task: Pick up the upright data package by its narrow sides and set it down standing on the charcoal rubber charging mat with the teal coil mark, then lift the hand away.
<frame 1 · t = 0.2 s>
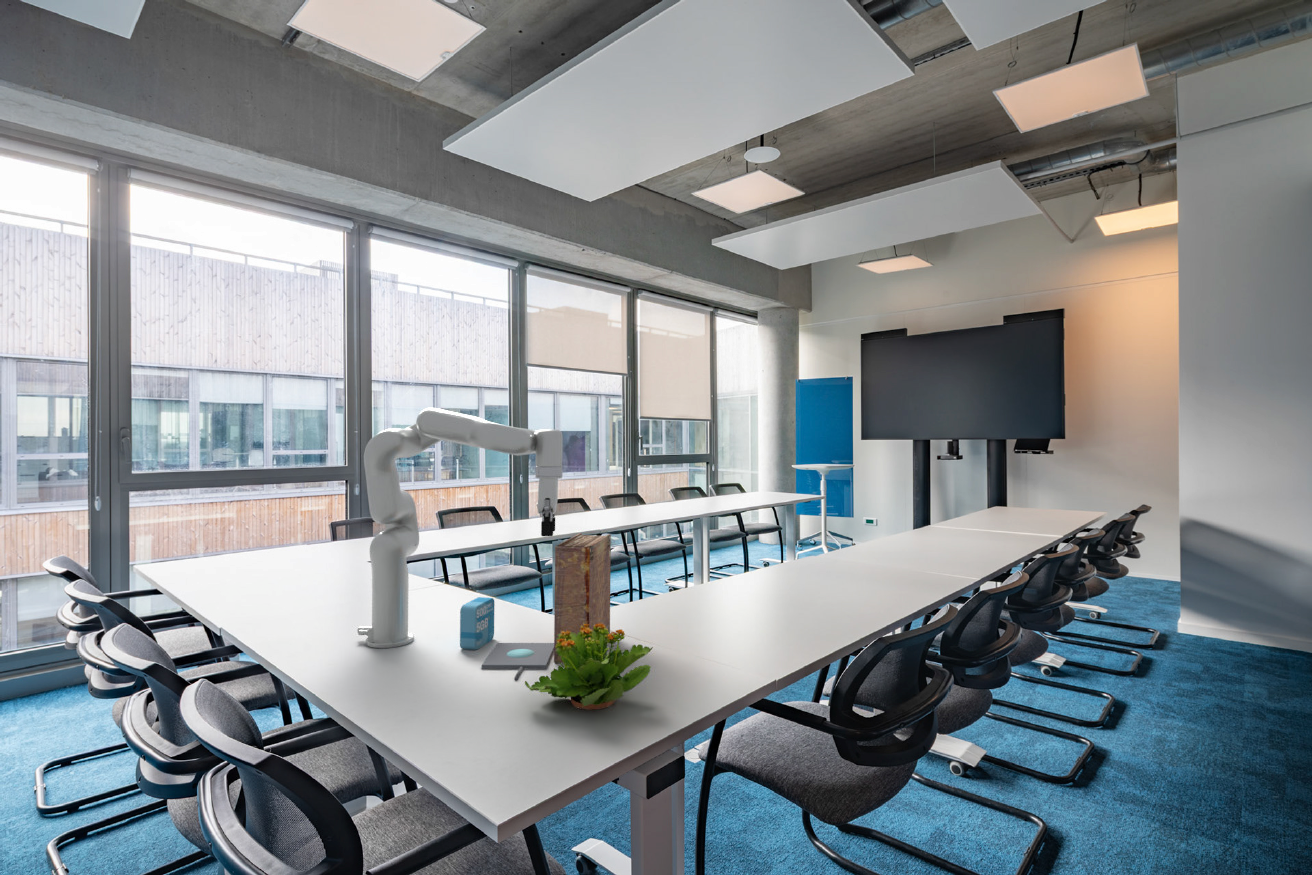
hand: (548, 533, 186), 31 cm above the table, tool pointing down, fingers open, 9 cm apart
potted flower: (596, 701, 144), on the table
book: (583, 649, 180), on the table
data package: (477, 644, 184), on the table
charging mat: (520, 657, 173), on the table
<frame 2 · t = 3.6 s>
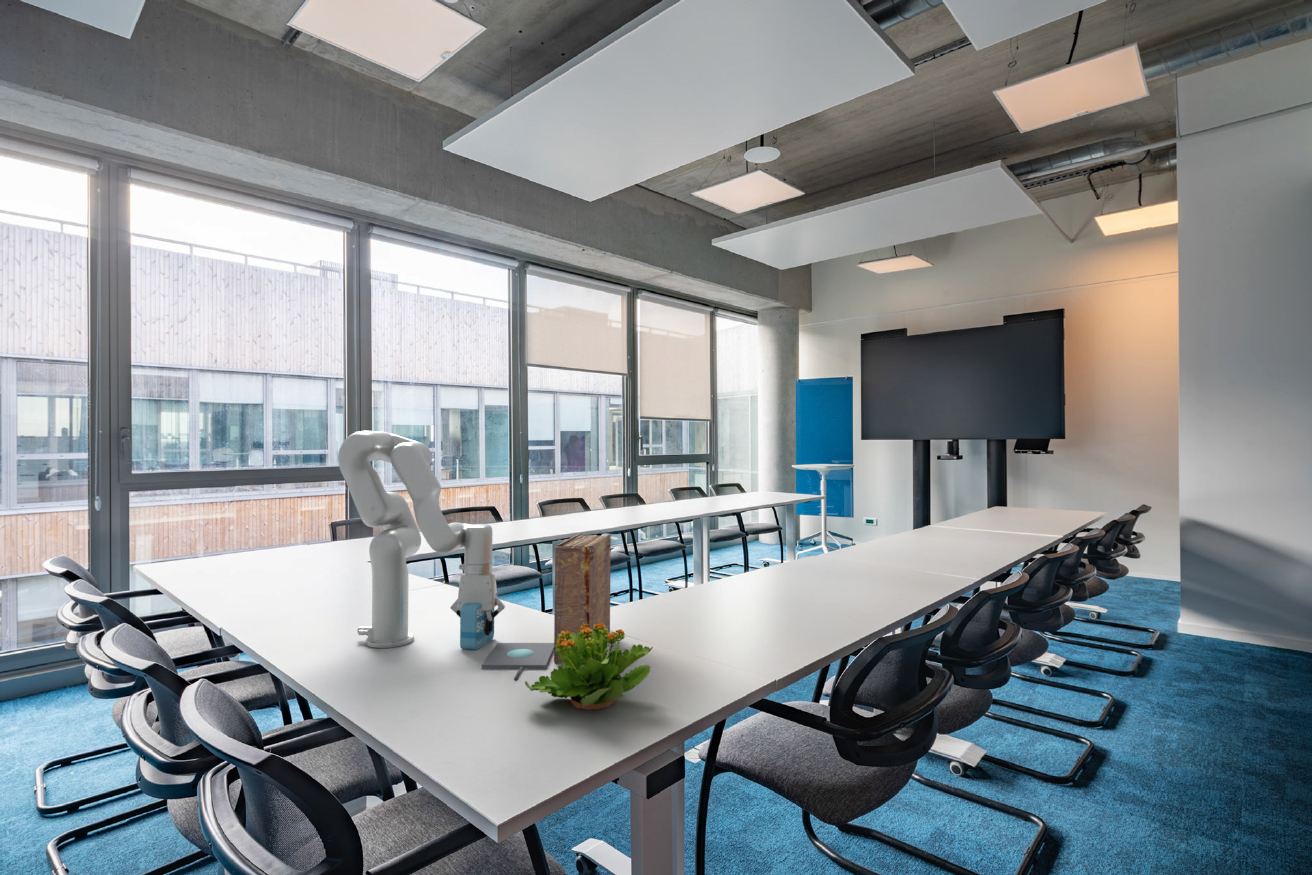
hand: (477, 633, 184), 3 cm above the table, tool pointing down, fingers closed on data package, 5 cm apart
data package: (477, 644, 184), on the table, touching gripper
everything else where it was.
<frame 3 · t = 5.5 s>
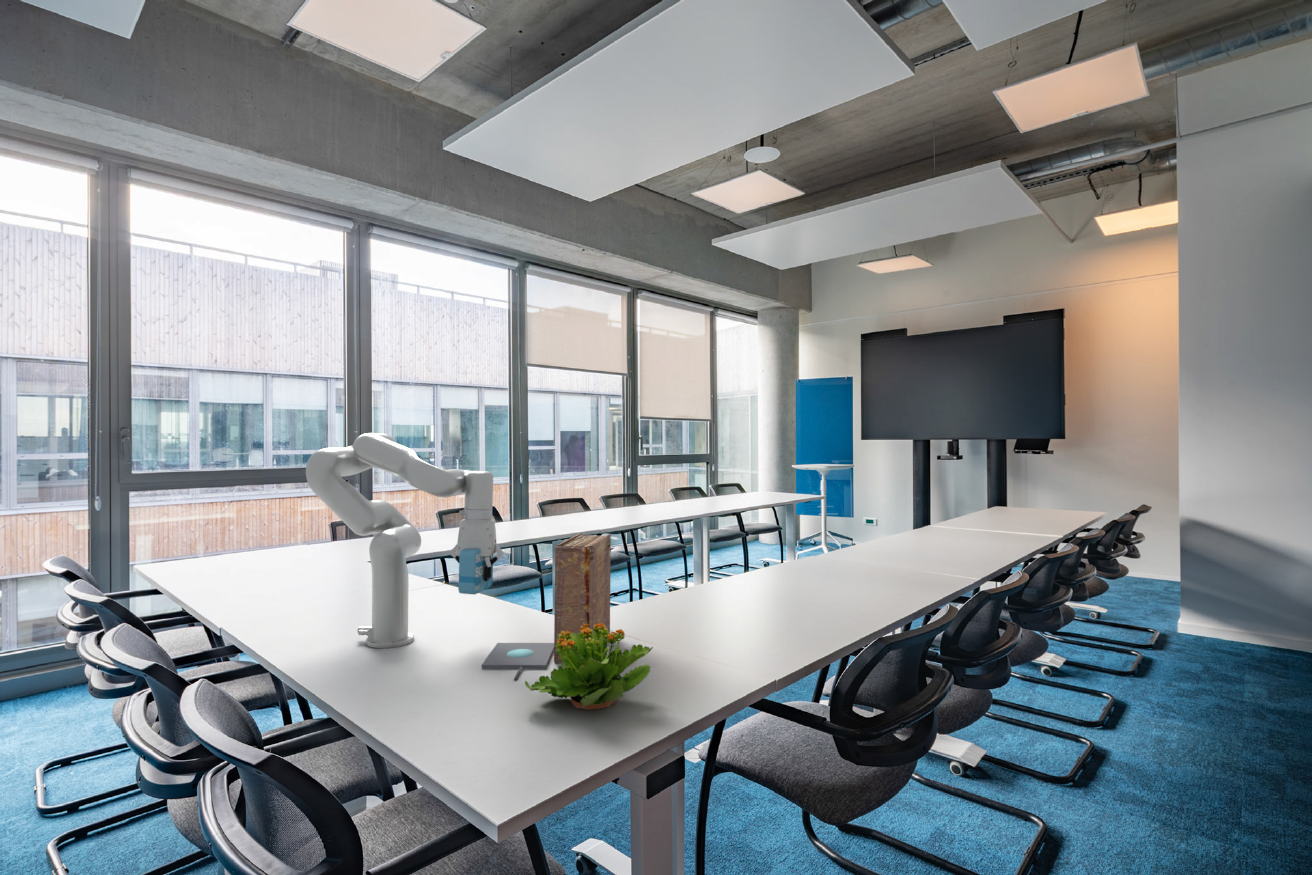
hand: (476, 579, 184), 18 cm above the table, tool pointing down, fingers closed on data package, 5 cm apart
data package: (475, 591, 184), point 15 cm above the table, touching gripper
everything else where it was.
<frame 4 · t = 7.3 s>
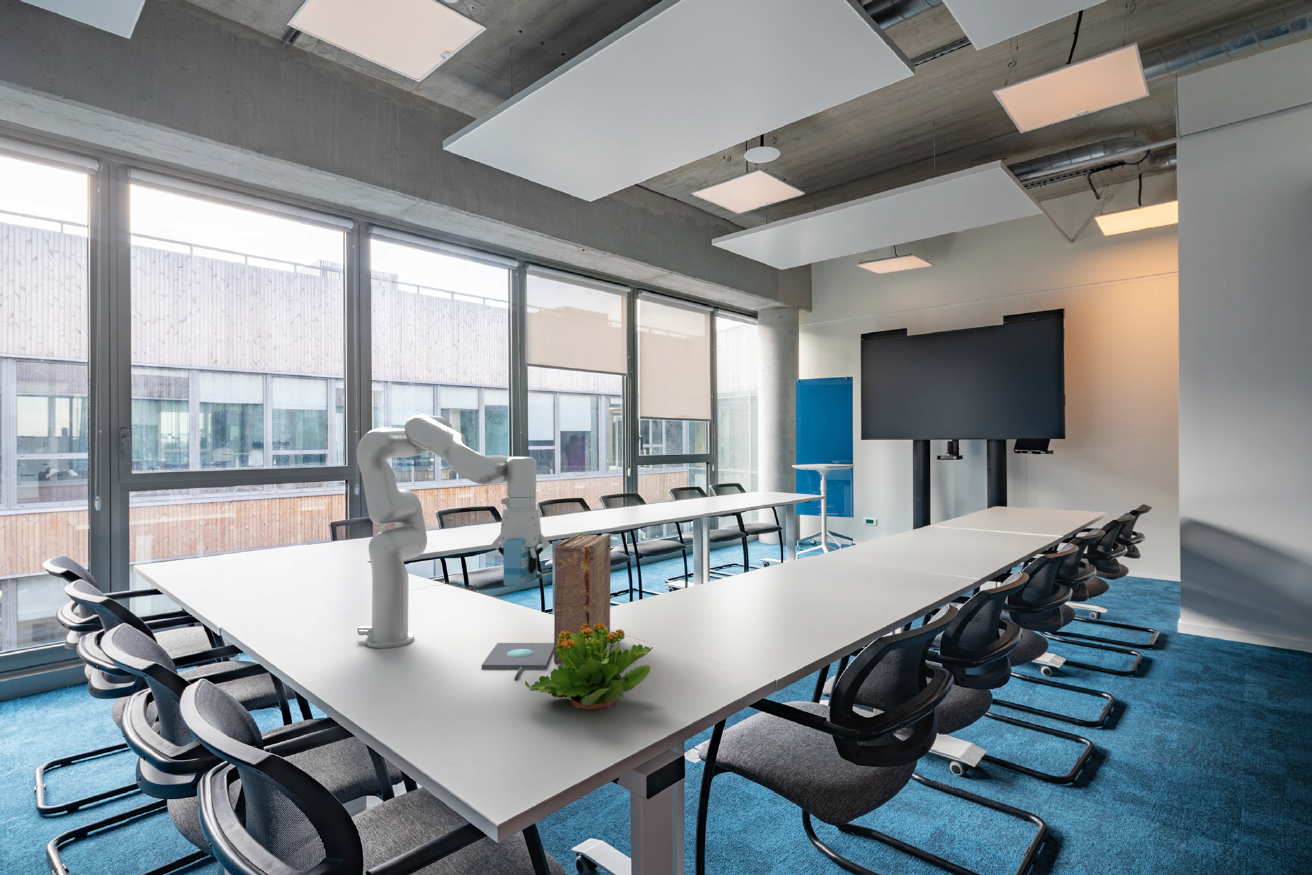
hand: (520, 571, 173), 22 cm above the table, tool pointing down, fingers closed on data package, 5 cm apart
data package: (520, 583, 173), point 19 cm above the table, touching gripper
everything else where it was.
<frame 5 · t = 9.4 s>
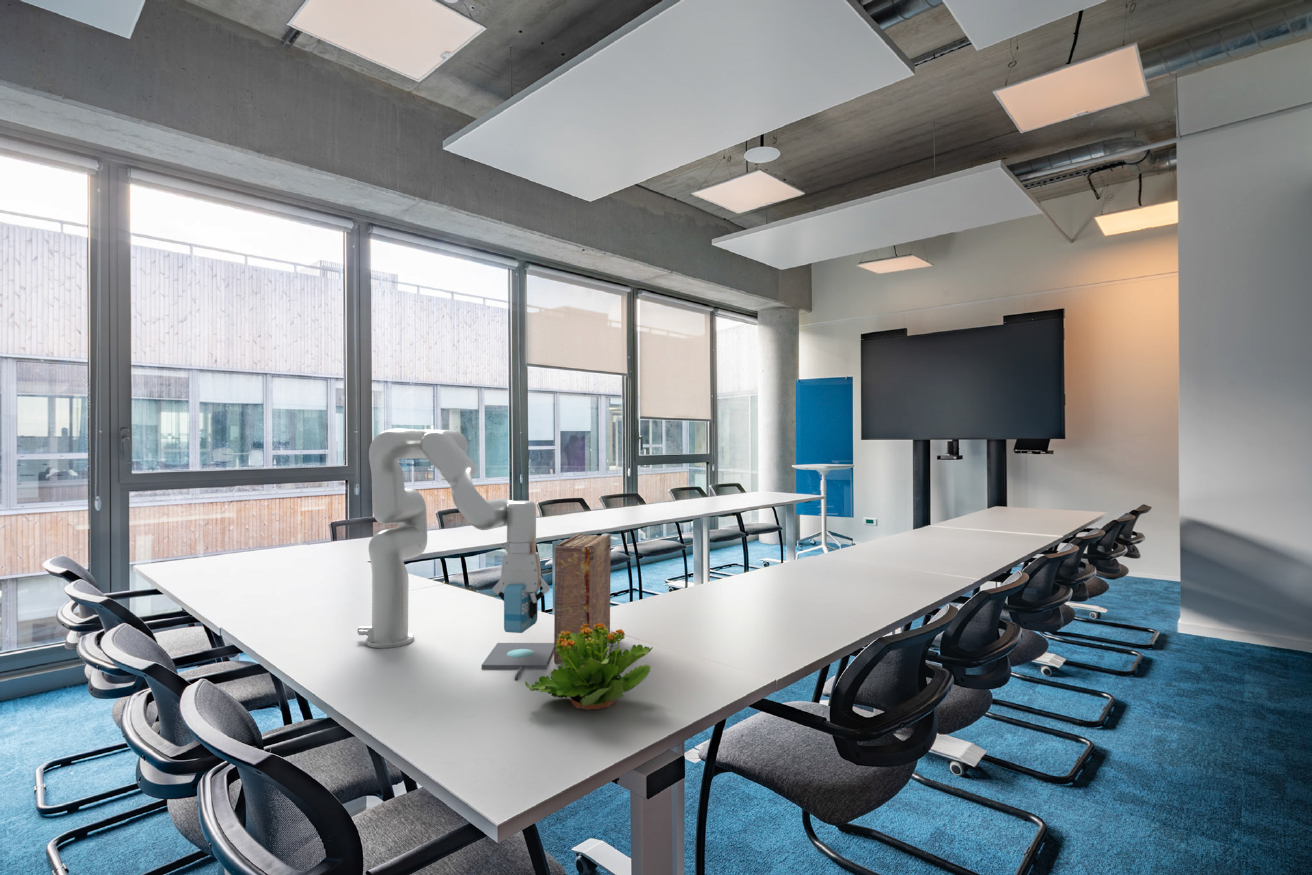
hand: (521, 616, 173), 11 cm above the table, tool pointing down, fingers closed on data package, 5 cm apart
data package: (521, 628, 173), point 8 cm above the table, touching gripper
everything else where it was.
when the fingers open (5 cm above the table, at t = 10.9 s): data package drops 1 cm, resting on charging mat.
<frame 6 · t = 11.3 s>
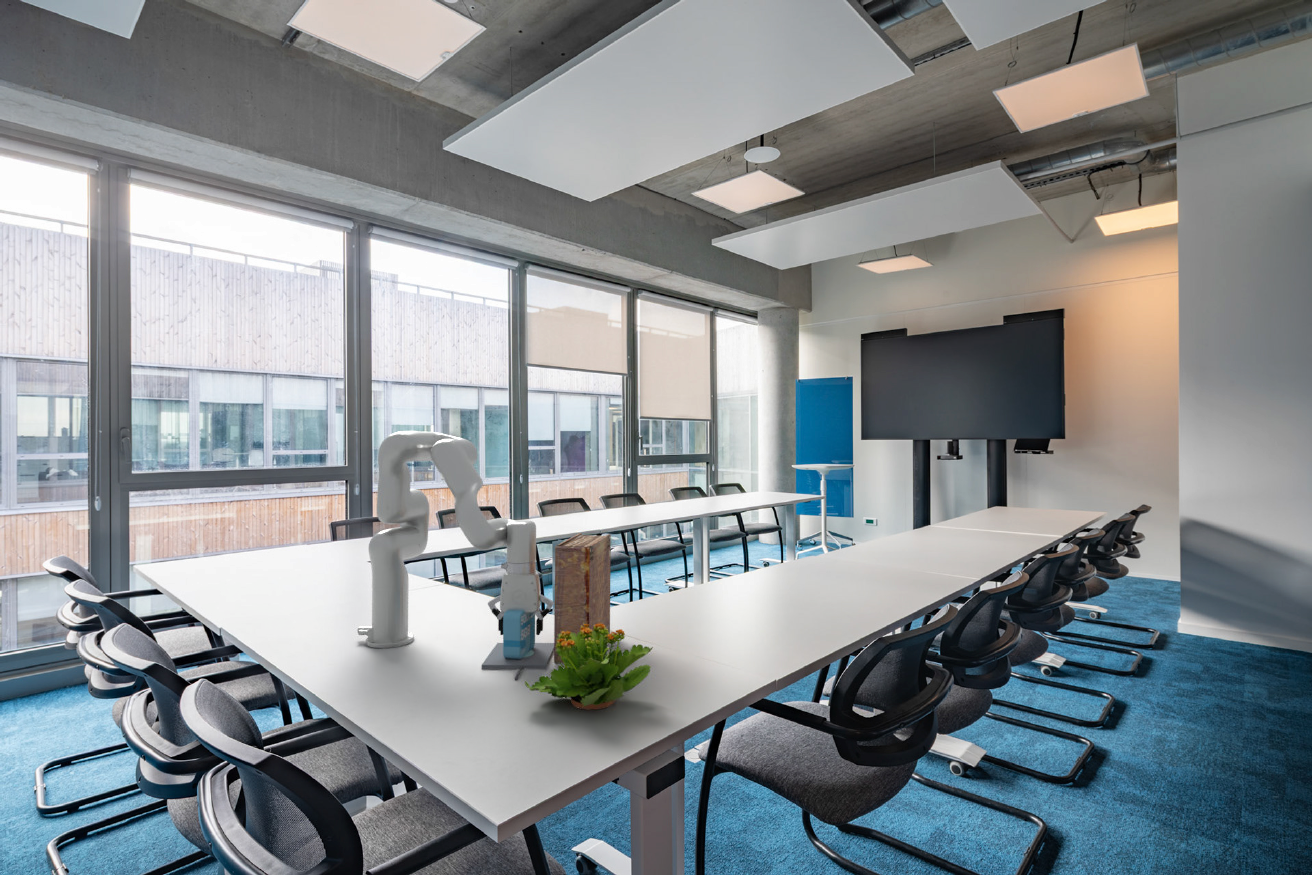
hand: (520, 633, 173), 6 cm above the table, tool pointing down, fingers open, 9 cm apart
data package: (519, 653, 173), point 1 cm above the table, touching charging mat
everything else where it was.
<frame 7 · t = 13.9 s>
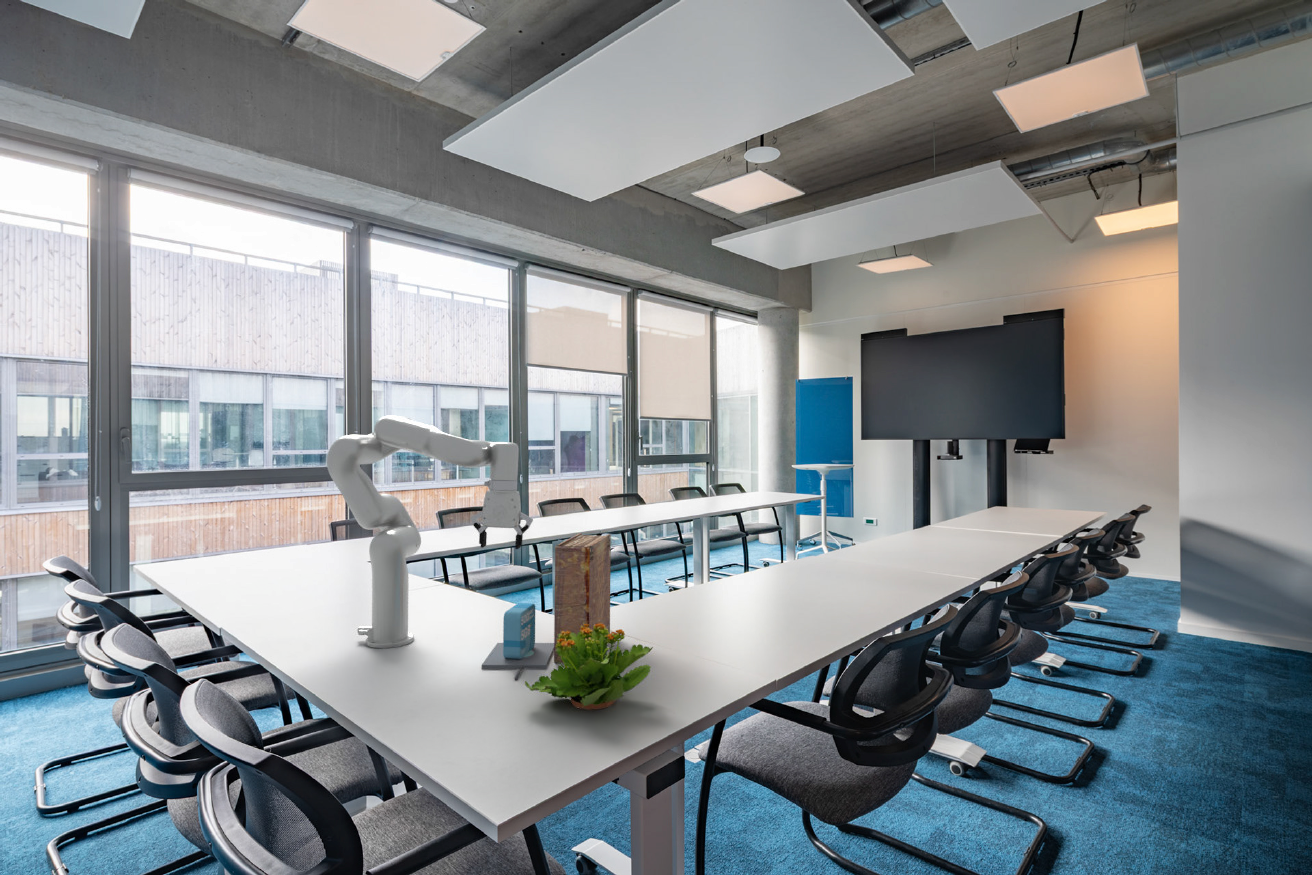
hand: (500, 547, 184), 27 cm above the table, tool pointing down, fingers open, 9 cm apart
nothing on the table moved.
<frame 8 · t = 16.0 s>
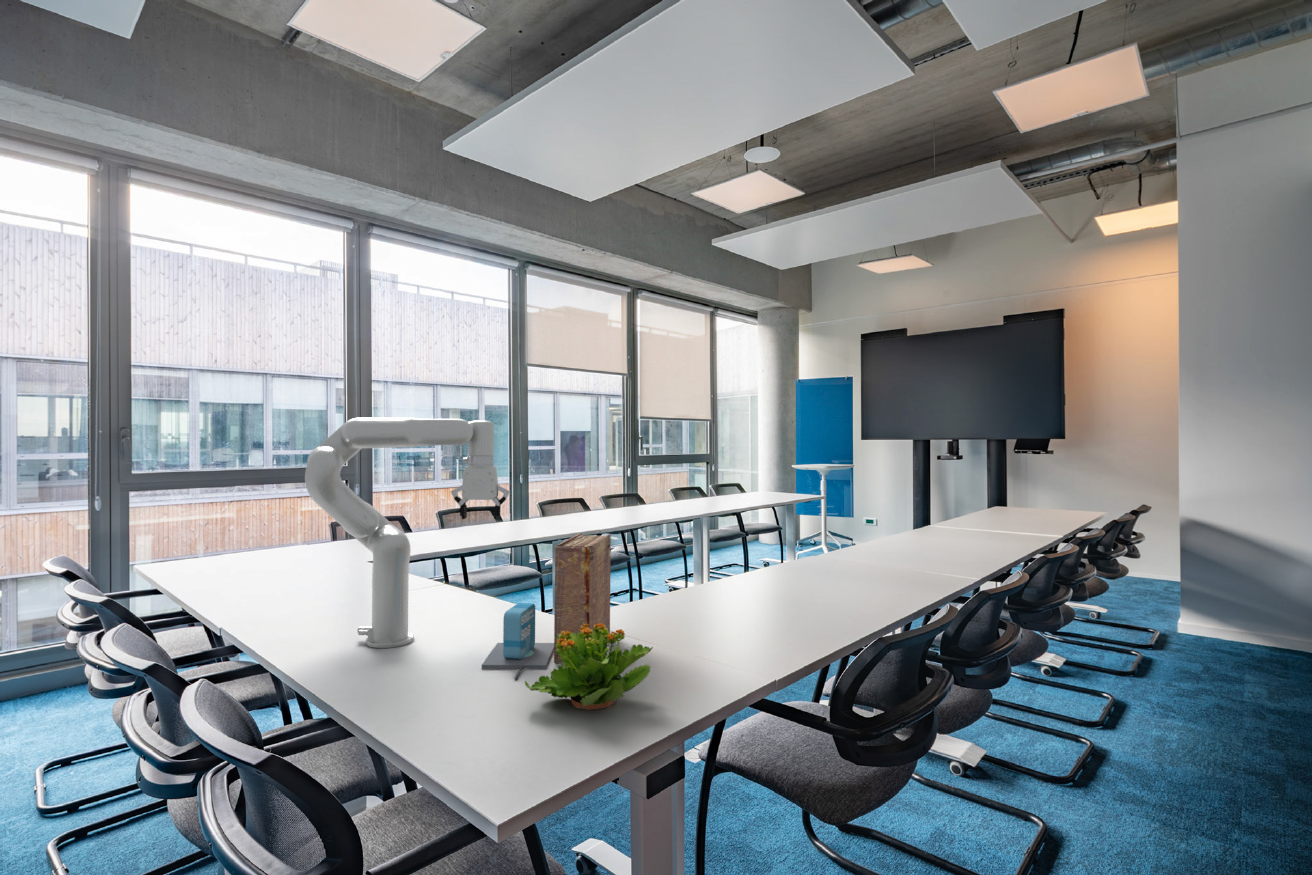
hand: (480, 518, 198), 33 cm above the table, tool pointing down, fingers open, 9 cm apart
nothing on the table moved.
at the end: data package inside the target area on the charging mat (0.3 cm from its centre), point 0.9 cm above the charging mat's base; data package tilted 0°; the gripper is holding nothing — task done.
